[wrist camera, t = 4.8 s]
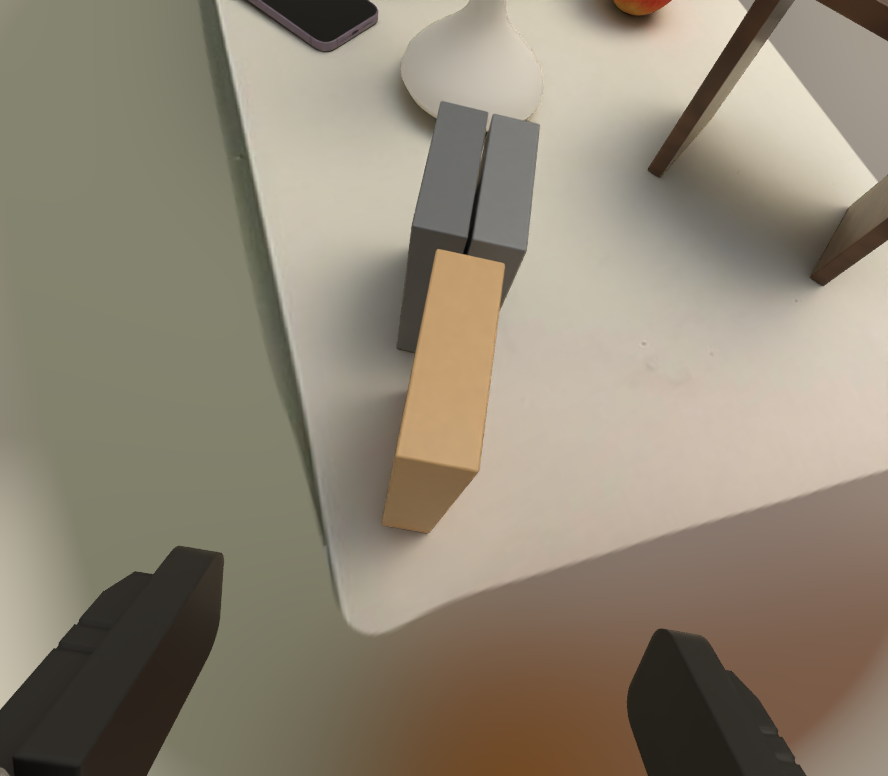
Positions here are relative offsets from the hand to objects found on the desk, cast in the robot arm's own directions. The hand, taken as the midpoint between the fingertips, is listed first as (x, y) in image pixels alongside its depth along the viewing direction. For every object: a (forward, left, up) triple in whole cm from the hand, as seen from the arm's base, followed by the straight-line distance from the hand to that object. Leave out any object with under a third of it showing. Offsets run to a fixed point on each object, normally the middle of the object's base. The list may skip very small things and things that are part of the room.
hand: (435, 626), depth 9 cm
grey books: (+16, -9, -18) cm, 26 cm away
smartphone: (+49, -8, -18) cm, 53 cm away
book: (+7, -4, -18) cm, 19 cm away
